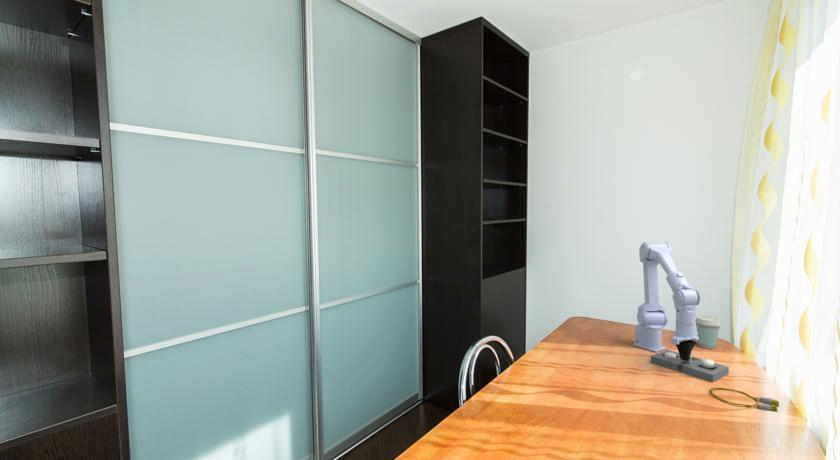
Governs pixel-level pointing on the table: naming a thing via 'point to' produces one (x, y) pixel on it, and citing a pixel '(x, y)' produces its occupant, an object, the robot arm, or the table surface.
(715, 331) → the coffee cup
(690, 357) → the slider tab
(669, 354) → the button
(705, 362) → the button
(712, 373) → the switch panel
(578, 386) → the table surface
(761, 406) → the extension cord
